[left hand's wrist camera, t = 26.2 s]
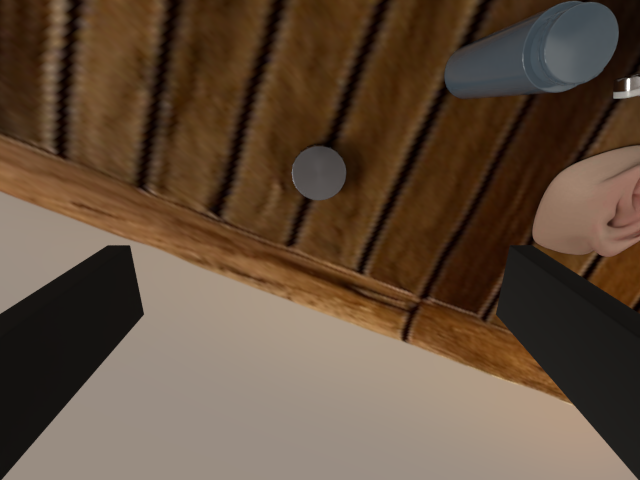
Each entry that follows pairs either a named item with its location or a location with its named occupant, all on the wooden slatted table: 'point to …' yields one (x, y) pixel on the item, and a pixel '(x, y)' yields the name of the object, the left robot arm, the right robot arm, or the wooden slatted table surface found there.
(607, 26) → the jar
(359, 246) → the wooden slatted table surface
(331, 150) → the lid
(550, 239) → the anatomical model
